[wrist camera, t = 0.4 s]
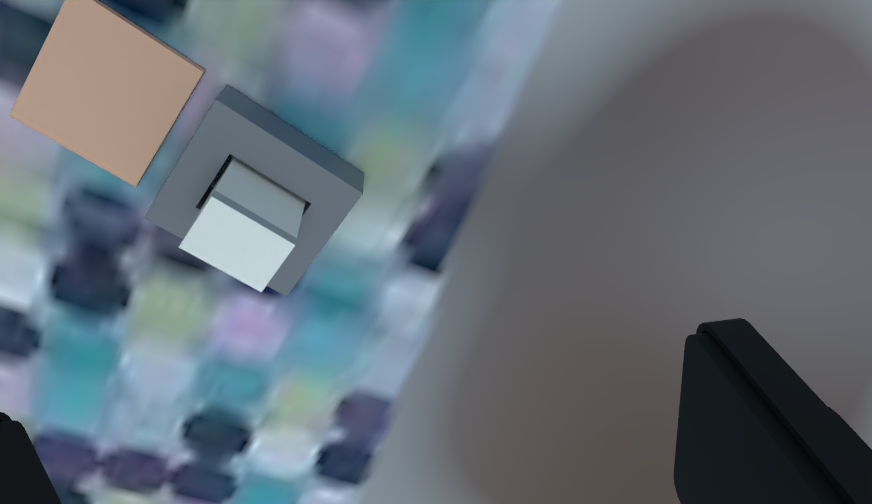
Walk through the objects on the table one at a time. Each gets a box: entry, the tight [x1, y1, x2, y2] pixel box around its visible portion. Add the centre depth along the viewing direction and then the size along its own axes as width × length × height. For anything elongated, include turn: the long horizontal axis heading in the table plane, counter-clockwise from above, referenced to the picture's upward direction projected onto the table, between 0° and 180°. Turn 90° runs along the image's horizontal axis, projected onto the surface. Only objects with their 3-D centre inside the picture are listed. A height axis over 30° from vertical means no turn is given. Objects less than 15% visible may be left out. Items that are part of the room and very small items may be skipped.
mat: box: [9, 0, 205, 187], centre depth 40 cm, size 8×9×1 cm
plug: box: [179, 156, 306, 292], centre depth 40 cm, size 5×4×9 cm
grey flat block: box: [144, 85, 364, 296], centre depth 42 cm, size 10×9×4 cm
